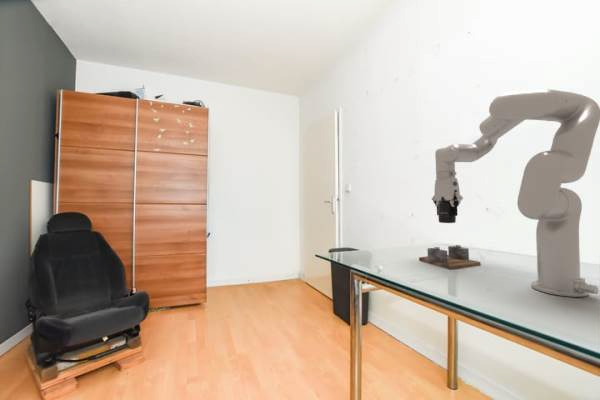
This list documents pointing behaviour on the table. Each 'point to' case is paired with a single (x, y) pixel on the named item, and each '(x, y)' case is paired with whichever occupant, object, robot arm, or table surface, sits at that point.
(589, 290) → the robot arm
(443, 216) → the supplement bottle
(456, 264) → the bottle cradle
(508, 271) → the table surface
